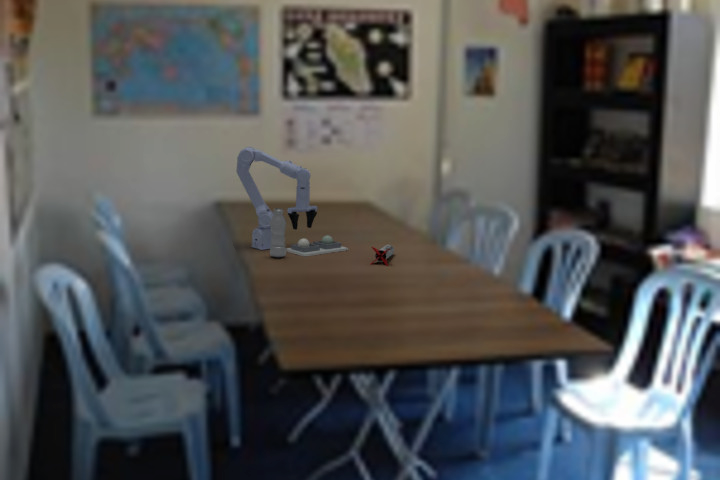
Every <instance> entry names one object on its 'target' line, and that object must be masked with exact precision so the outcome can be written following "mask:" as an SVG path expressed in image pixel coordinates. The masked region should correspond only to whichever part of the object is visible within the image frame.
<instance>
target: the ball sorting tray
mask: <svg viewBox="0 0 720 480" xmlns="http://www.w3.org/2000/svg"><path fill="white" fill-rule="evenodd" d="M309 244H310V245H309V247H301V246H298V243H293V244H291V247H286V253H289V254H290V253H291V254H295V255H298V256H301V257H304V258H305V257H311V256H317V255H324V254H331V253H332V252H333V253H339V251H340V252H346V250H347V251H349V248H348V247H346V246H342V242H340V241H334V240H333V244H323V243H322V240H317V241H313V242H312V243H310V242H309Z"/></svg>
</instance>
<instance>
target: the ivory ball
mask: <svg viewBox="0 0 720 480" xmlns="http://www.w3.org/2000/svg"><path fill="white" fill-rule="evenodd" d="M309 243H310V241H309V240H308V239H307V238H305V237H304V238H300V239H298V241H297V244H298V246H301V247H309V245H310V244H309Z"/></svg>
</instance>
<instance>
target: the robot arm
mask: <svg viewBox="0 0 720 480" xmlns="http://www.w3.org/2000/svg"><path fill="white" fill-rule="evenodd" d="M236 160H237V161H236V174H237V176H238V178H239V181H240V182H241V183H242V186H243V187H244V189H245V192H246V193H247V195H248V197H249V199H250V201H251V203H252V205H253V207H254V209H255V214H256V216H257V222H258V226H257V227H256V228H254V229H253V231H252V234H251V237H252V239H251V246H250V248H254V249H257V250H260V251H262V250H270V246H271V226H270V220H271V218H272V217H273V216H274V211H272V210H271V209H270V207H269V205H267V203H266V202H265V200H264V198H263V196H262V195H261V193H260V191H259V188H258V186H257V185H256V182H255V181H254V179H253V177H252V174H251V173H250V168H251V166H252V164H253V162H254V163H255V162H264V163H266V164H268V165H270V166H273V167H275V168H277V169H279V171H280V174H283V175H284V176H287V177H288V178H290V179H291V178H292V179H293V180H295V179H296V182H297V183H296V191H295V192H296V194H295V195H296V196H295V197H296V198H295V199H296V200H295V201H296V202H295V206H294V207H288V208H287V215H288V217H289V219H290V221H291V226H292V229H293V230H298V223H299V217H300V214H298V213H304V212H305V215H306V227H307V228H309V229H312V226H313V222H314V220H315V218H316V216H317V214H318V212H317V211H318V206H317V205H310V202H311V201H310V199H311V198H310V195H311V194H310V193H311V186H310V184H311V183H310V180H311V172H310V170H309V169H307V168H303V166H301V165H300V166H299V165H297V164H295V163H293V161H292V160H284V161H282V160H280V159H278V158H277V157H276V158H275V157H274V156H272V155H270V154H268V153H266V152H264V151H263V150H260V149H257V148H254V147H252V146H246V147H245V148H243V149H241V150H240V151H239V153H238V155H237V157H236Z"/></svg>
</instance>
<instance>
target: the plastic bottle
mask: <svg viewBox="0 0 720 480" xmlns="http://www.w3.org/2000/svg"><path fill="white" fill-rule="evenodd" d="M273 213H274V216H273V217H272V218H271V220H270V226H271V246H270V249H269V254H270V256H271V257H273V258H277V259H278V258H283V257H285V256H286V254H287V252H286V248H287V247H286V242H285V241H286V238H285V234H286V228H287V221H286V218H285V217H284V215H283V214H284V209H283V208H273Z"/></svg>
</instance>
